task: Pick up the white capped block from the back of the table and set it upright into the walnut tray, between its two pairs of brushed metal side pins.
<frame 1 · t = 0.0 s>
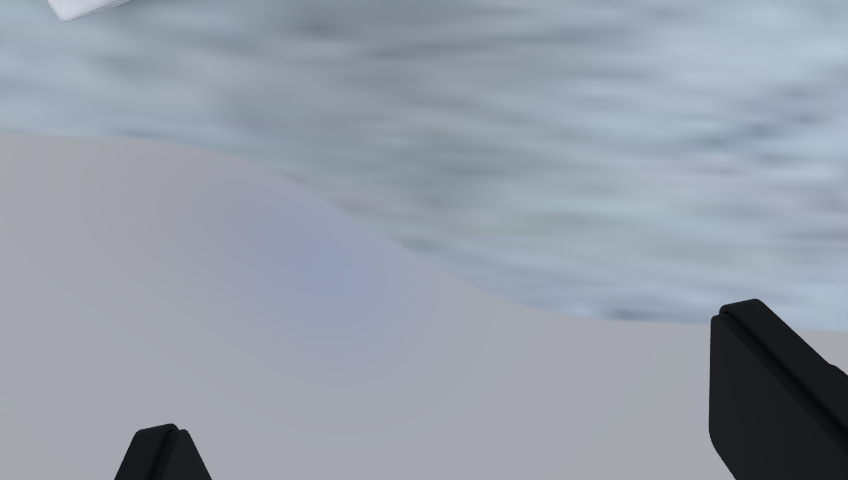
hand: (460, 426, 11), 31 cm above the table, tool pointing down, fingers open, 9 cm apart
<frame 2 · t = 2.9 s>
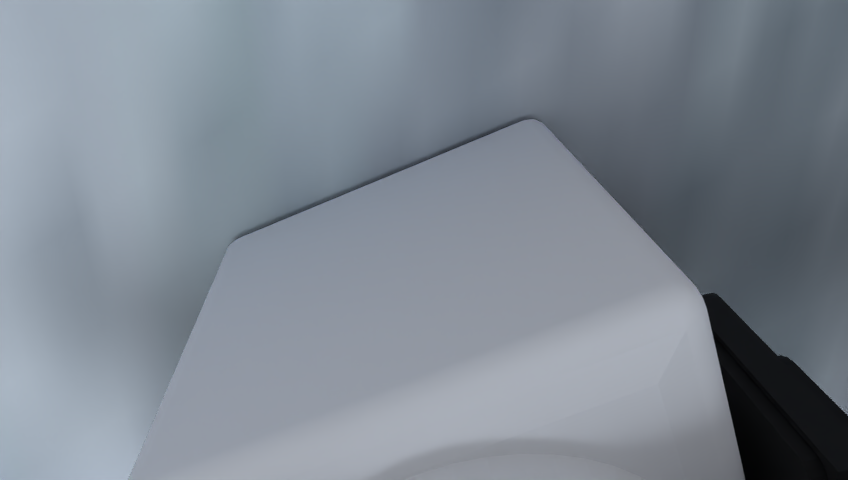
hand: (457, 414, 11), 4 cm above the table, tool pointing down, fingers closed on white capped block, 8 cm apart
white capped block: (437, 302, 15), on the table, touching gripper
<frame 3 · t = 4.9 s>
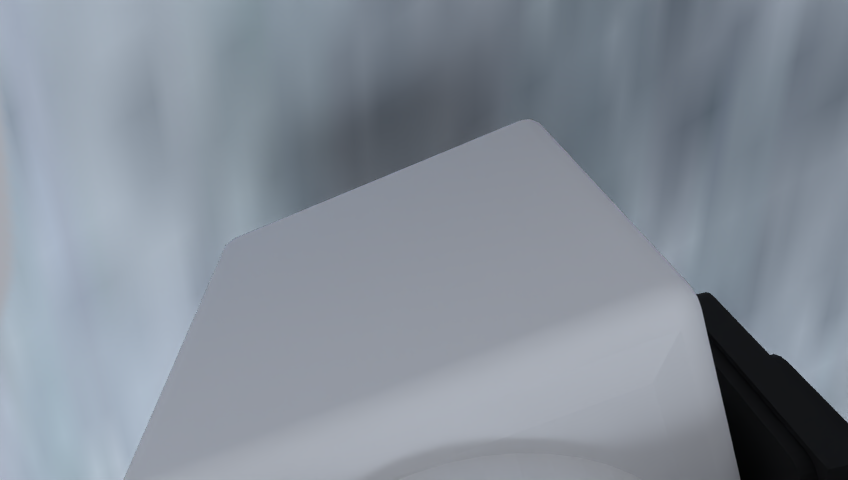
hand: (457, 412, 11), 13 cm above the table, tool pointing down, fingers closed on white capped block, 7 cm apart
white capped block: (434, 302, 15), point 9 cm above the table, touching gripper
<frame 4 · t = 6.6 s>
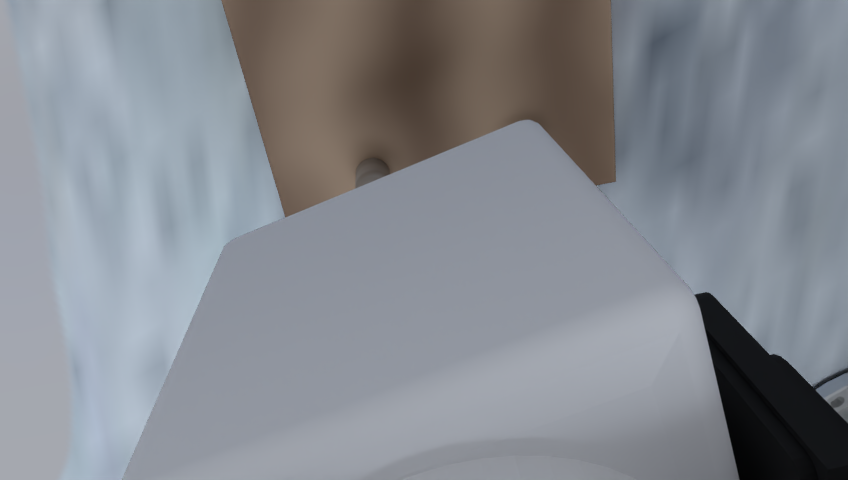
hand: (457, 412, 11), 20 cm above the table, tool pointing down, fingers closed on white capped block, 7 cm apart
white capped block: (433, 303, 15), point 16 cm above the table, touching gripper
pin tray: (426, 41, 28), on the table
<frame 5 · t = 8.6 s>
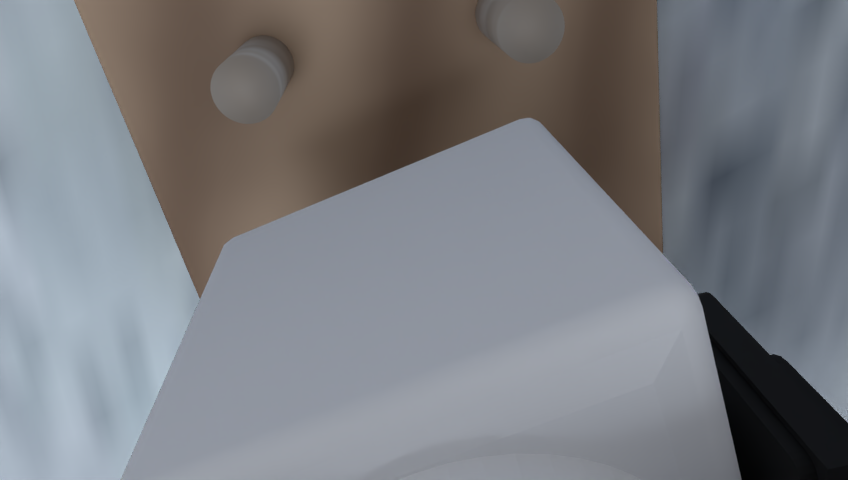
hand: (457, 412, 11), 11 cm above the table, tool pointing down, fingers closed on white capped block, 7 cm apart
white capped block: (434, 302, 15), point 7 cm above the table, touching gripper
pin tray: (417, 192, 21), on the table
when the fingers open (6 cm above the table, at t = 10.1 s): white capped block drops 2 cm, resting on pin tray.
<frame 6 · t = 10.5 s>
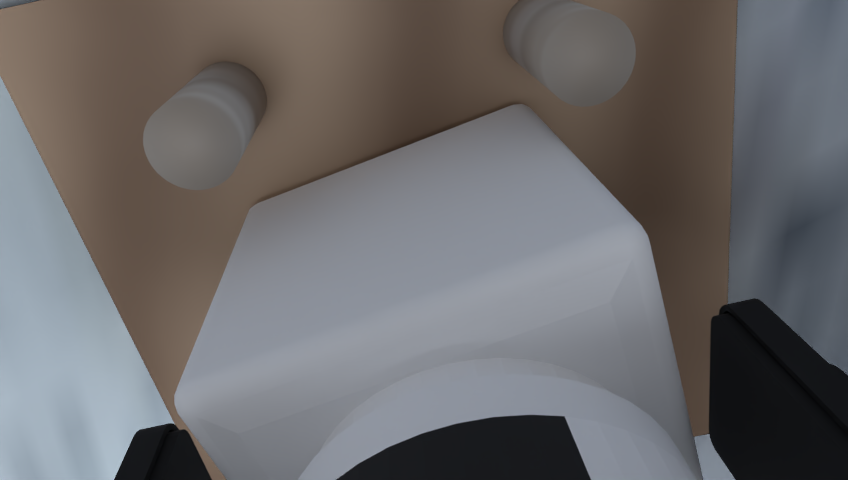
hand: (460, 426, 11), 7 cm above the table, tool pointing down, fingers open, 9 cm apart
white capped block: (432, 268, 16), point 1 cm above the table, touching pin tray
pin tray: (425, 250, 17), on the table
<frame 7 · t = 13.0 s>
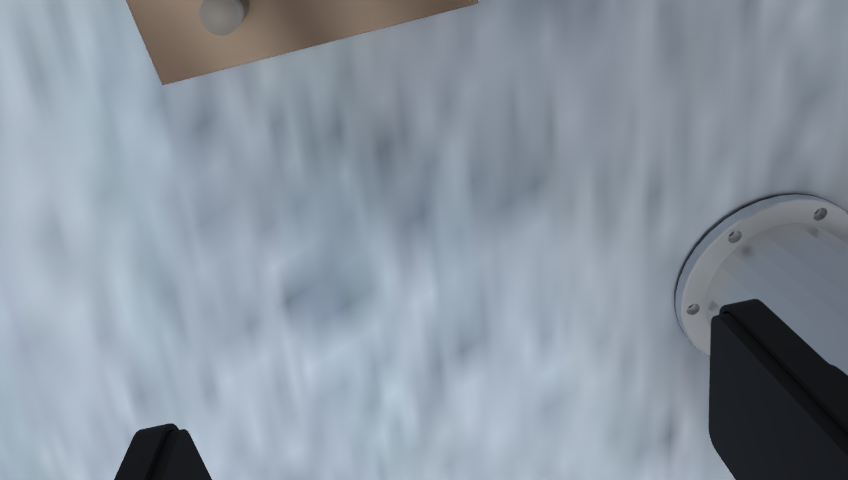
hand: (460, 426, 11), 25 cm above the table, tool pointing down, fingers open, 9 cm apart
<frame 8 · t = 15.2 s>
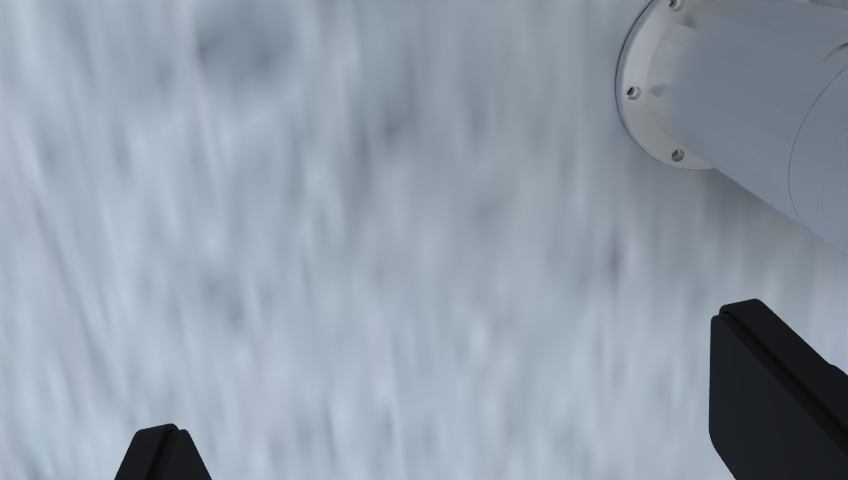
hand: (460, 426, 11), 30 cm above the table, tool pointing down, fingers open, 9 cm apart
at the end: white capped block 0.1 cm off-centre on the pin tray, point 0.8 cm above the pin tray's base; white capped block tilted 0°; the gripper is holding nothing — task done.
